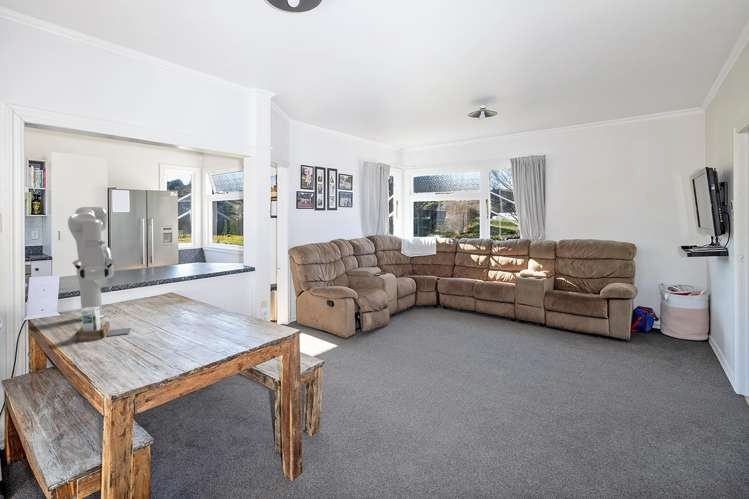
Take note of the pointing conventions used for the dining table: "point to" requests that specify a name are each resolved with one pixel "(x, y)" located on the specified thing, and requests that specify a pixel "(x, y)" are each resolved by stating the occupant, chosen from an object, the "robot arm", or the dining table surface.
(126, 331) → the mat
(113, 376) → the dining table surface
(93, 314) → the syrup box
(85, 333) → the rack
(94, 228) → the robot arm
